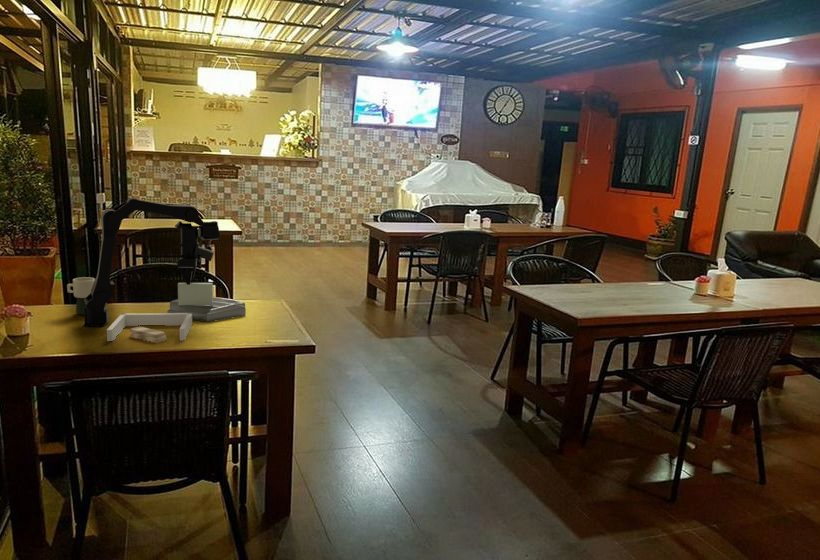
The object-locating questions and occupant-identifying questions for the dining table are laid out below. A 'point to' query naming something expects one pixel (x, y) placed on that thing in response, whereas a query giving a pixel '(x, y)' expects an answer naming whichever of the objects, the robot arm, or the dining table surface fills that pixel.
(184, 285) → the pale green rectangular slab
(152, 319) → the rack
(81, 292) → the character mug
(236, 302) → the emblem
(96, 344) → the dining table surface
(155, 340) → the offcut stack
